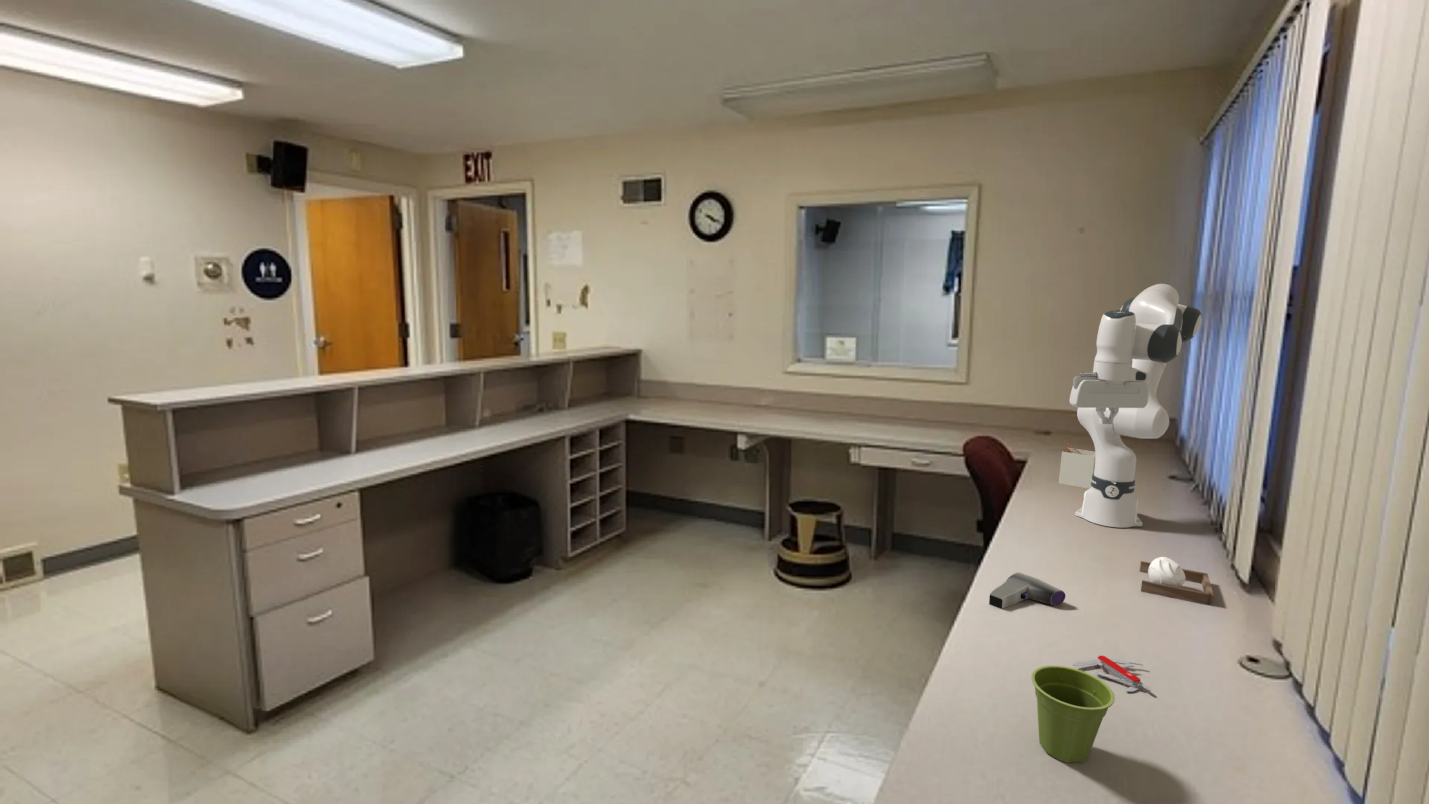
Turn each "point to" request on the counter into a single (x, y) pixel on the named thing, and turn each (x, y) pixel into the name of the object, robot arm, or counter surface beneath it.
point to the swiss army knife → (1116, 671)
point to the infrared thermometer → (1025, 591)
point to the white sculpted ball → (1166, 572)
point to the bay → (1178, 592)
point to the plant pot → (1069, 710)
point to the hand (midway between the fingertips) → (1105, 423)
